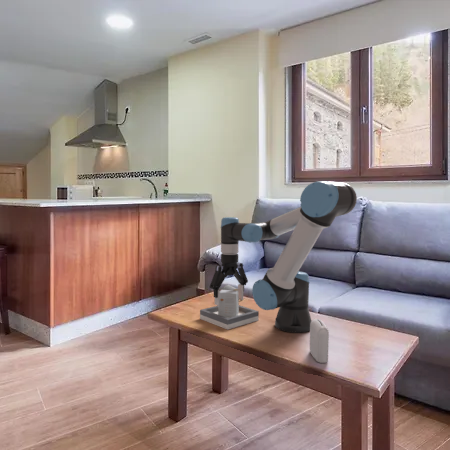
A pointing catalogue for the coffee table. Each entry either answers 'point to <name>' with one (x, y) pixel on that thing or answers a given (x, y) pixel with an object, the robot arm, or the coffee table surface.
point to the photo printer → (319, 340)
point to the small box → (228, 303)
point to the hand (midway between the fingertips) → (229, 302)
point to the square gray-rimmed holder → (242, 318)
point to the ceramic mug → (229, 288)
